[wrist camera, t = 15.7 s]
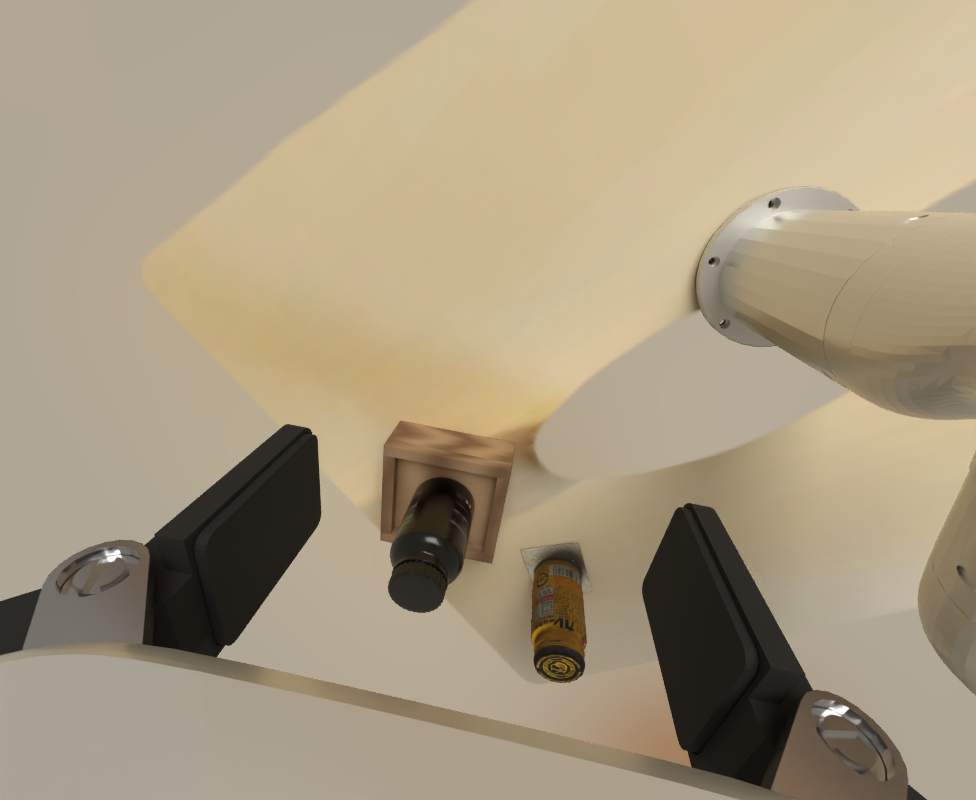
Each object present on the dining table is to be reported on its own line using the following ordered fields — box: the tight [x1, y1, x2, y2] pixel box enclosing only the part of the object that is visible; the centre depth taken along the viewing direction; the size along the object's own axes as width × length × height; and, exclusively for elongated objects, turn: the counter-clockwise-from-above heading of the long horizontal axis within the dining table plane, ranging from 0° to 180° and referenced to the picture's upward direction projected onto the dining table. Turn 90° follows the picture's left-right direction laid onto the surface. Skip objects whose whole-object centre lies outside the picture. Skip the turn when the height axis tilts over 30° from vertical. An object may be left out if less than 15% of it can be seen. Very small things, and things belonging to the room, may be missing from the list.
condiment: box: [521, 543, 592, 683], centre depth 47 cm, size 7×8×12 cm
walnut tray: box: [381, 421, 515, 564], centre depth 46 cm, size 13×13×5 cm
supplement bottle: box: [388, 477, 475, 613], centre depth 39 cm, size 7×7×12 cm
